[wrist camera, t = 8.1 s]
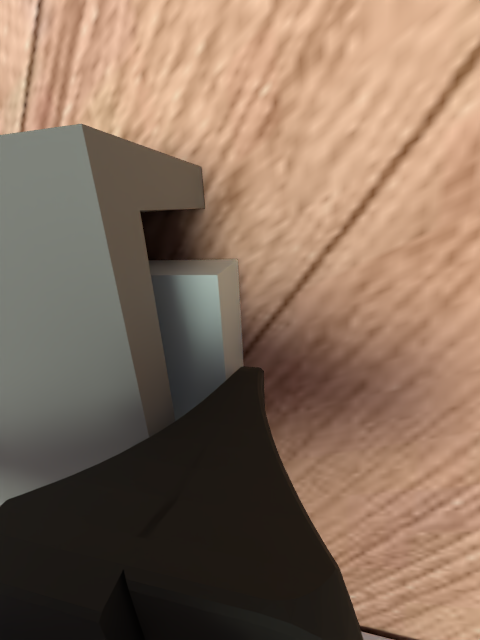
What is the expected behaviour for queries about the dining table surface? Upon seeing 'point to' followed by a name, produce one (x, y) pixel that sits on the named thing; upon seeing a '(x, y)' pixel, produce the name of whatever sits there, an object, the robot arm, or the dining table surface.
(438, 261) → the dining table surface
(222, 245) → the dining table surface
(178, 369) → the pale blue thin plate
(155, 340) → the overhang shelf
